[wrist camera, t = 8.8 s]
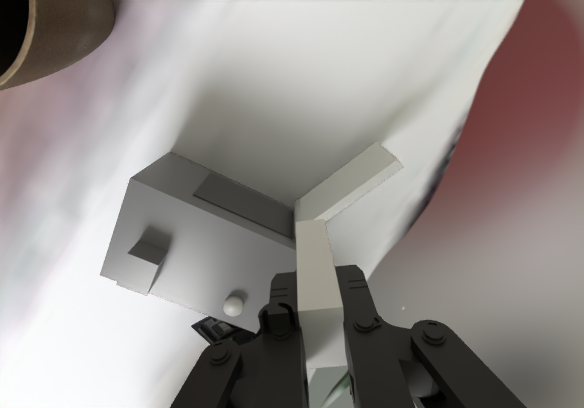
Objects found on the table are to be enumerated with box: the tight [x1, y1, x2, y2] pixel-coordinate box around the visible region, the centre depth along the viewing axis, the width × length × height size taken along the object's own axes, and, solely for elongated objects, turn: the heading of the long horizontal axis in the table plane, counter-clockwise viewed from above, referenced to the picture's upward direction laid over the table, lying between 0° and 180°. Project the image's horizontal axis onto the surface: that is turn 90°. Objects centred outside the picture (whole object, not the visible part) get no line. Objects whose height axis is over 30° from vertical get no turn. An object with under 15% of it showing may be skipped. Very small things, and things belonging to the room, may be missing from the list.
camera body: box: [100, 152, 297, 333], centre depth 36 cm, size 12×20×12 cm, turn 63°
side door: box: [294, 141, 403, 237], centre depth 34 cm, size 2×13×8 cm, turn 129°
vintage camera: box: [191, 316, 262, 345], centre depth 40 cm, size 10×16×20 cm, turn 33°
